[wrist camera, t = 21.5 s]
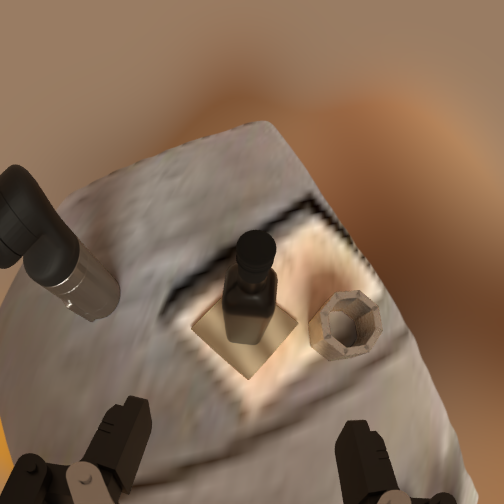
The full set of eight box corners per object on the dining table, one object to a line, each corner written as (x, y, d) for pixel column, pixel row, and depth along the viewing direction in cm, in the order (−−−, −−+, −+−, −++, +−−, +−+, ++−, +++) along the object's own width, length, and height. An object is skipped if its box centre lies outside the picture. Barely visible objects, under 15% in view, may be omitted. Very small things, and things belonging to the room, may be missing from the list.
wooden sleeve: (341, 371, 47) (358, 367, 40) (297, 336, 50) (308, 326, 43) (371, 327, 51) (391, 316, 44) (331, 294, 54) (345, 278, 47)
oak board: (248, 380, 46) (248, 380, 45) (191, 329, 50) (191, 328, 49) (297, 324, 51) (298, 323, 50) (241, 278, 54) (242, 276, 53)
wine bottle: (230, 310, 51) (224, 210, 24) (263, 313, 51) (295, 219, 24) (225, 342, 48) (213, 277, 21) (259, 346, 48) (292, 286, 21)
